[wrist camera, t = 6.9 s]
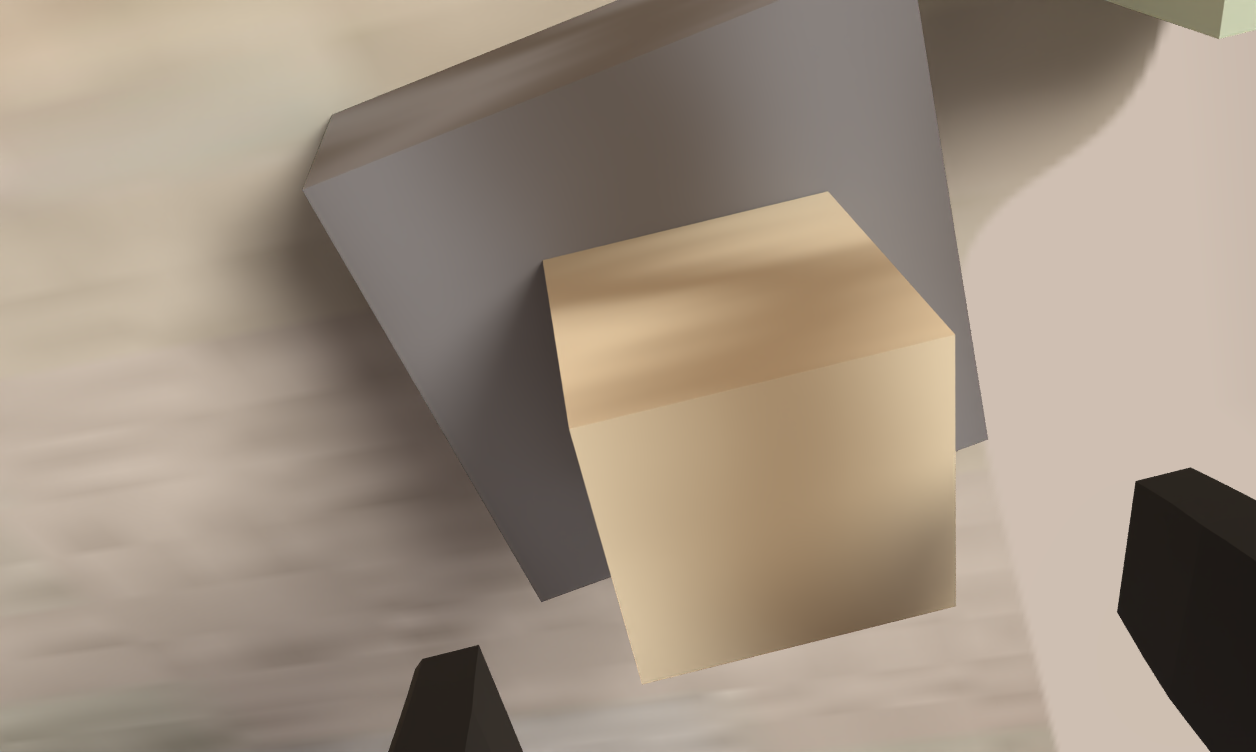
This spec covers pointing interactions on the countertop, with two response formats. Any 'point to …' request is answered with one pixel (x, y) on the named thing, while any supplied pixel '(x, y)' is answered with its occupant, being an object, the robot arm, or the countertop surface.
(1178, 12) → the sage cube
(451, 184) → the charcoal slab
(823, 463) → the birch cube
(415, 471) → the countertop surface
